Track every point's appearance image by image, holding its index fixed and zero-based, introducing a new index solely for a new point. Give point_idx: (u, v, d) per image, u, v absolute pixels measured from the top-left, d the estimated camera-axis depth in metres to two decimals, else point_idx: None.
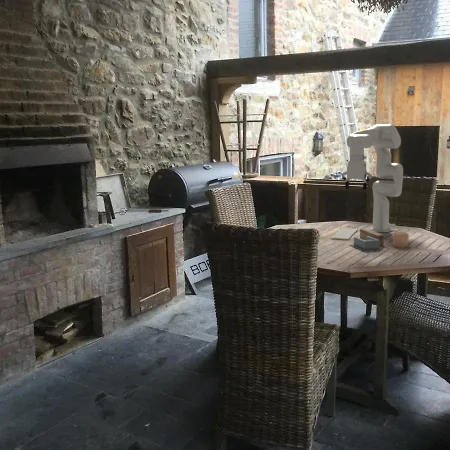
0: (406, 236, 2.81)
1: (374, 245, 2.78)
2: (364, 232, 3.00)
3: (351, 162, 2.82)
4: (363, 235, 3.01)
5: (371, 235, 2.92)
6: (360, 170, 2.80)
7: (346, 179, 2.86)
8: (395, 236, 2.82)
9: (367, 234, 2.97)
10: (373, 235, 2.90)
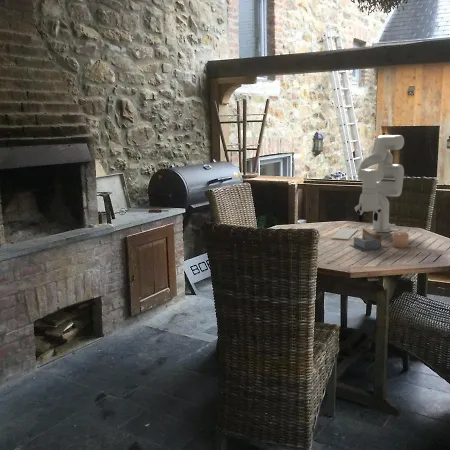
0: (406, 236, 2.81)
1: (374, 245, 2.78)
2: (365, 232, 3.00)
3: (367, 195, 2.93)
4: (365, 235, 3.02)
5: (370, 235, 2.93)
6: (375, 202, 2.95)
7: (361, 212, 2.95)
8: (395, 236, 2.82)
9: (367, 234, 2.97)
10: (371, 235, 2.90)
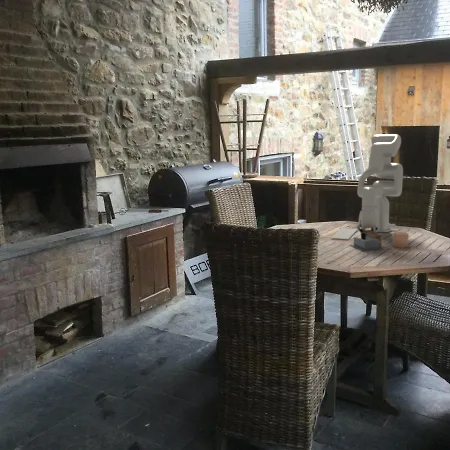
0: (406, 236, 2.81)
1: (374, 245, 2.78)
2: (364, 232, 3.00)
3: (367, 213, 2.95)
4: None
5: (369, 235, 2.93)
6: (375, 219, 2.97)
7: (363, 230, 2.98)
8: (395, 236, 2.82)
9: (367, 234, 2.97)
10: (371, 235, 2.90)
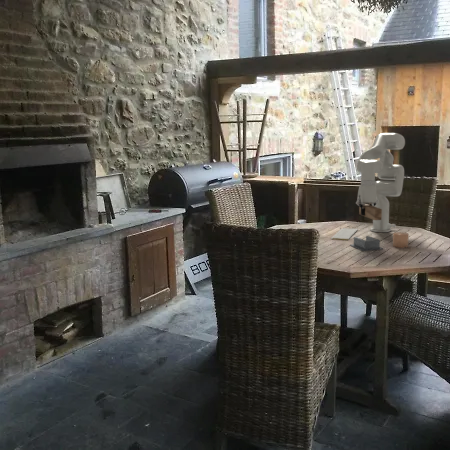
0: (406, 236, 2.81)
1: (374, 245, 2.78)
2: None
3: (366, 187, 2.92)
4: None
5: (369, 209, 2.89)
6: (374, 194, 2.94)
7: (363, 205, 2.94)
8: (395, 236, 2.82)
9: (366, 209, 2.93)
10: (371, 209, 2.87)
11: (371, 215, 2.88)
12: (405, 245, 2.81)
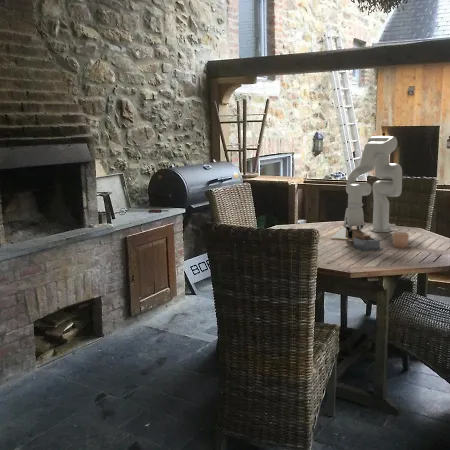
0: (406, 236, 2.81)
1: (374, 245, 2.78)
2: None
3: (353, 210, 2.90)
4: None
5: (357, 235, 2.88)
6: (361, 217, 2.92)
7: (350, 228, 2.93)
8: (395, 236, 2.82)
9: (353, 233, 2.92)
10: (359, 235, 2.85)
11: None
12: (405, 245, 2.81)
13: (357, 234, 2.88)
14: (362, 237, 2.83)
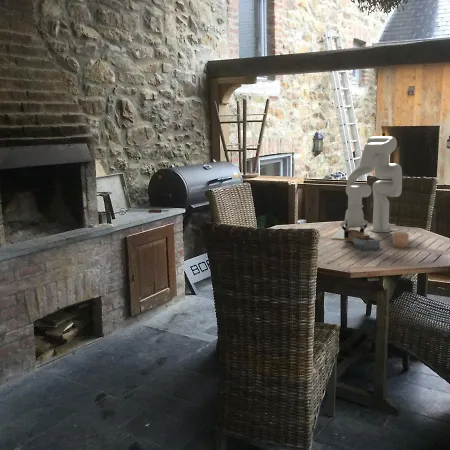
0: (406, 236, 2.81)
1: (374, 245, 2.78)
2: (349, 232, 2.95)
3: (353, 212, 2.90)
4: (348, 235, 2.96)
5: (356, 235, 2.88)
6: (361, 218, 2.92)
7: (347, 228, 2.92)
8: (395, 236, 2.82)
9: (352, 234, 2.92)
10: (358, 235, 2.86)
11: None
12: (405, 245, 2.81)
13: (356, 234, 2.88)
14: (361, 237, 2.83)
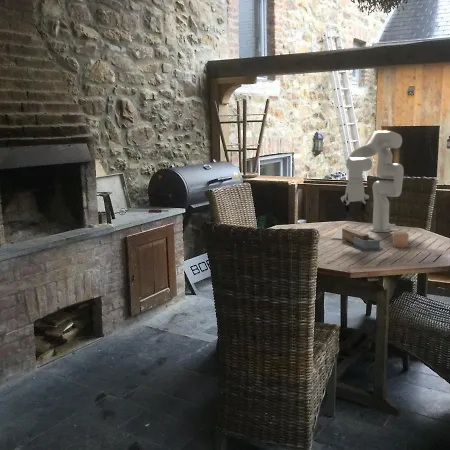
0: (406, 236, 2.81)
1: (374, 245, 2.78)
2: (347, 232, 2.95)
3: (354, 185, 2.88)
4: (346, 235, 2.96)
5: (355, 235, 2.88)
6: (362, 192, 2.90)
7: (348, 202, 2.90)
8: (395, 236, 2.82)
9: (350, 234, 2.92)
10: (357, 235, 2.86)
11: None
12: (405, 245, 2.81)
13: (355, 234, 2.88)
14: (361, 237, 2.83)
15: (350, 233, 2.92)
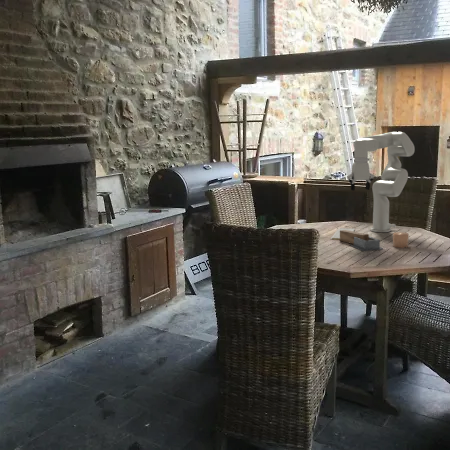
0: (406, 236, 2.81)
1: (374, 245, 2.78)
2: (345, 233, 2.95)
3: (359, 164, 2.99)
4: (344, 237, 2.96)
5: (355, 235, 2.88)
6: (367, 171, 3.02)
7: (353, 181, 3.01)
8: (395, 236, 2.82)
9: (349, 235, 2.92)
10: (357, 235, 2.86)
11: None
12: (405, 245, 2.81)
13: (354, 235, 2.88)
14: (361, 236, 2.84)
15: (349, 234, 2.93)
